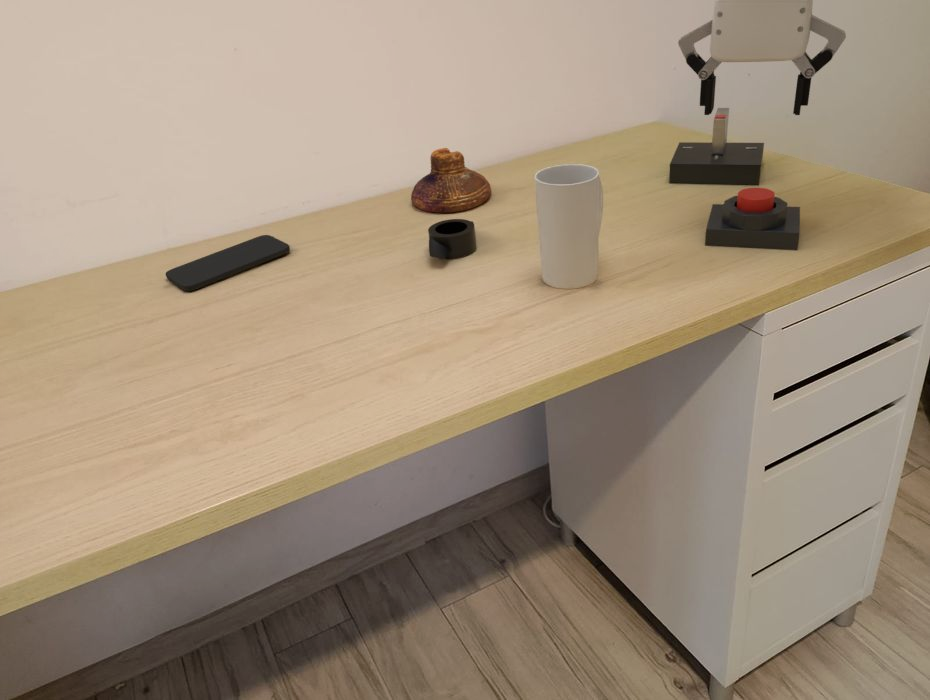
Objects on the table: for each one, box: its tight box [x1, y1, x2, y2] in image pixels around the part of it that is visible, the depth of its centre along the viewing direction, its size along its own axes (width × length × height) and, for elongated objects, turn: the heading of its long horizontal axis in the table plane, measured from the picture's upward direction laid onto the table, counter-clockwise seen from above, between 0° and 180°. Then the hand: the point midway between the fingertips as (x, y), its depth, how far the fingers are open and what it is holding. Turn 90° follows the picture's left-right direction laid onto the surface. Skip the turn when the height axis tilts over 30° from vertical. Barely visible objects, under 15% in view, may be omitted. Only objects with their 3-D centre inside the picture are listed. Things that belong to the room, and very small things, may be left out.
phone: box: [165, 234, 291, 292], centre depth 97 cm, size 7×1×15 cm
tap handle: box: [711, 107, 730, 155], centre depth 107 cm, size 6×2×5 cm, turn 159°
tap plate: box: [668, 141, 765, 187], centre depth 108 cm, size 12×12×3 cm
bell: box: [410, 147, 492, 214], centre depth 108 cm, size 12×12×7 cm
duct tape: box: [427, 218, 478, 260], centre depth 94 cm, size 8×10×3 cm
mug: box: [534, 163, 604, 290], centre depth 82 cm, size 10×7×12 cm, turn 138°
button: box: [737, 187, 776, 212], centre depth 86 cm, size 4×4×2 cm
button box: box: [704, 195, 801, 251], centre depth 88 cm, size 10×8×4 cm
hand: (752, 112), depth 87 cm, fingers open, 9 cm apart
